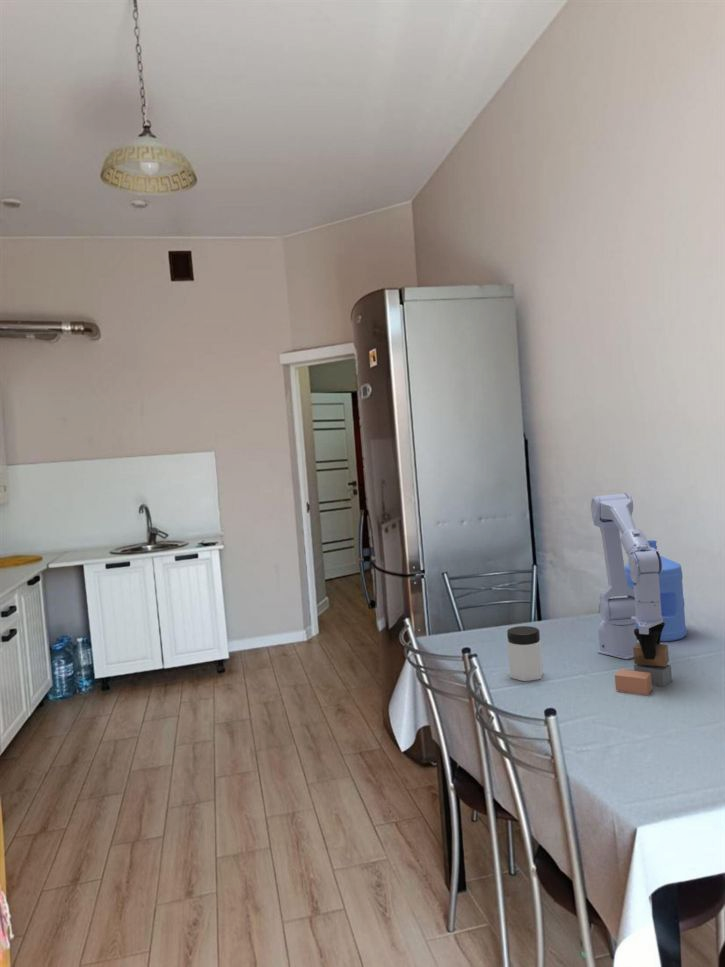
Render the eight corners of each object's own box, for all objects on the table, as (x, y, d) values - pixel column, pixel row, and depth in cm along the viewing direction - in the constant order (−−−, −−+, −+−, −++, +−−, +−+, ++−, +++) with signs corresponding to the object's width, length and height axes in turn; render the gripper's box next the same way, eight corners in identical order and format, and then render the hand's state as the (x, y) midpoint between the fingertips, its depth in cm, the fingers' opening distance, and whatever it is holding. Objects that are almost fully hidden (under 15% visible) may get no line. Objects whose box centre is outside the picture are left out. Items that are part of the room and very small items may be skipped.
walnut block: (634, 663, 160) (633, 647, 160) (638, 658, 164) (636, 642, 164) (665, 666, 156) (664, 650, 156) (668, 660, 160) (667, 644, 160)
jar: (513, 669, 177) (509, 625, 177) (544, 670, 174) (541, 625, 174) (508, 681, 169) (504, 634, 168) (540, 682, 166) (536, 635, 165)
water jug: (643, 625, 207) (636, 536, 206) (695, 631, 195) (688, 538, 194) (619, 637, 196) (612, 544, 195) (673, 645, 185) (666, 546, 183)
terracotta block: (616, 691, 156) (614, 675, 156) (621, 685, 160) (619, 669, 159) (647, 696, 152) (646, 678, 152) (651, 689, 155) (650, 672, 155)
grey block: (635, 681, 161) (633, 665, 161) (643, 676, 164) (642, 660, 164) (663, 687, 156) (662, 670, 156) (672, 681, 159) (670, 665, 159)
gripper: (636, 592, 168) (639, 645, 168) (623, 606, 155) (627, 663, 156) (666, 594, 164) (670, 647, 164) (655, 608, 152) (660, 666, 152)
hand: (651, 655), depth 160 cm, fingers open, 4 cm apart
